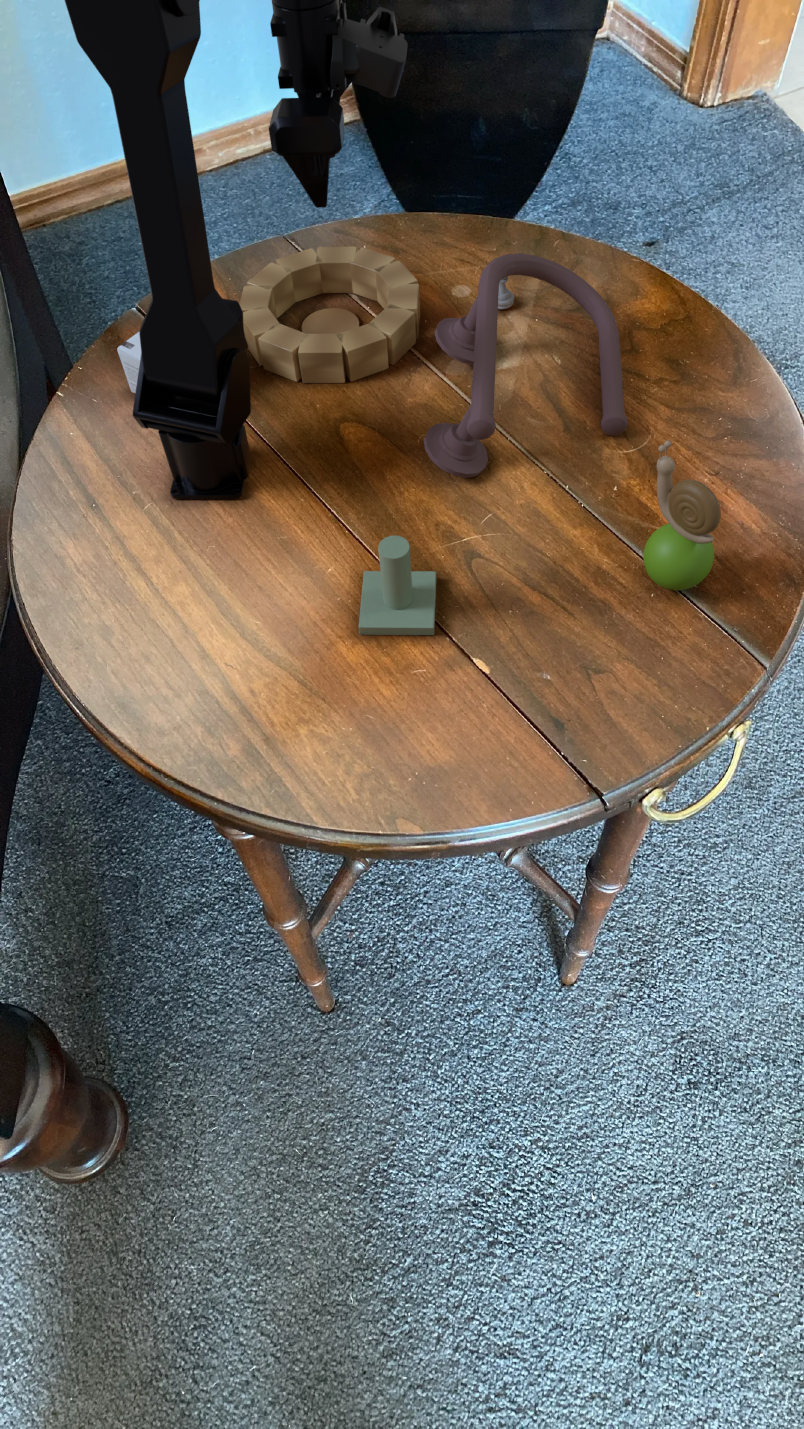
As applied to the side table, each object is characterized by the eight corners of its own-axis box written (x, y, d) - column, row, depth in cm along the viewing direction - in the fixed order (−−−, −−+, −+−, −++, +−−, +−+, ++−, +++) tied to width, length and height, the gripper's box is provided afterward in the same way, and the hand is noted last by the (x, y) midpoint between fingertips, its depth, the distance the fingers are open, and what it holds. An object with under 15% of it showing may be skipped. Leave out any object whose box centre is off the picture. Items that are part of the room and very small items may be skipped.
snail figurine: (659, 538, 82) (686, 424, 72) (720, 579, 79) (757, 466, 69) (615, 571, 80) (637, 459, 70) (676, 615, 77) (708, 504, 67)
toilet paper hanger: (637, 478, 84) (453, 409, 79) (595, 530, 89) (420, 468, 85) (622, 284, 99) (467, 217, 95) (587, 339, 105) (439, 278, 100)
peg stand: (359, 635, 78) (351, 576, 72) (364, 578, 81) (357, 518, 75) (434, 635, 77) (432, 576, 72) (436, 579, 81) (434, 518, 75)
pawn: (504, 312, 100) (505, 276, 97) (483, 304, 101) (484, 268, 98) (518, 300, 101) (520, 264, 98) (498, 292, 102) (499, 256, 99)
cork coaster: (298, 345, 99) (298, 343, 99) (305, 310, 103) (304, 308, 102) (357, 345, 99) (357, 342, 99) (361, 309, 102) (361, 307, 102)
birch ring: (414, 382, 95) (413, 351, 92) (233, 383, 96) (227, 353, 93) (423, 276, 105) (422, 245, 102) (259, 277, 106) (253, 247, 103)
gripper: (392, 42, 77) (402, 232, 90) (404, -52, 87) (411, 131, 100) (254, 47, 78) (283, 234, 91) (281, -47, 88) (304, 134, 101)
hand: (325, 181), depth 96 cm, fingers open, 9 cm apart
